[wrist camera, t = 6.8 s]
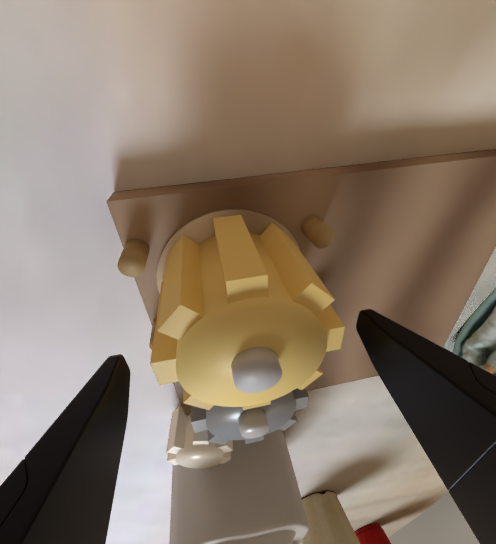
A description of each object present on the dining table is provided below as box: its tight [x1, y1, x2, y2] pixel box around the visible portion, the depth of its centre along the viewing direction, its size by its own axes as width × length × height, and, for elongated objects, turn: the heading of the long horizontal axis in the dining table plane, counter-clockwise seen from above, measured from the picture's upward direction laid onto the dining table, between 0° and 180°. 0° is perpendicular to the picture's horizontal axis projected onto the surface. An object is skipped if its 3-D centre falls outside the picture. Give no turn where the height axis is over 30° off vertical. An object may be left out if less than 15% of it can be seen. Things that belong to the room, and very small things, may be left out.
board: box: [107, 149, 496, 415], centre depth 16 cm, size 20×16×3 cm
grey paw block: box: [169, 429, 309, 544], centre depth 23 cm, size 10×13×9 cm
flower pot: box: [301, 491, 360, 544], centre depth 36 cm, size 9×9×9 cm
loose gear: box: [150, 215, 345, 410], centre depth 11 cm, size 7×7×6 cm
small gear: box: [166, 406, 233, 469], centre depth 19 cm, size 4×4×3 cm
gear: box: [191, 388, 309, 445], centre depth 16 cm, size 7×7×4 cm
